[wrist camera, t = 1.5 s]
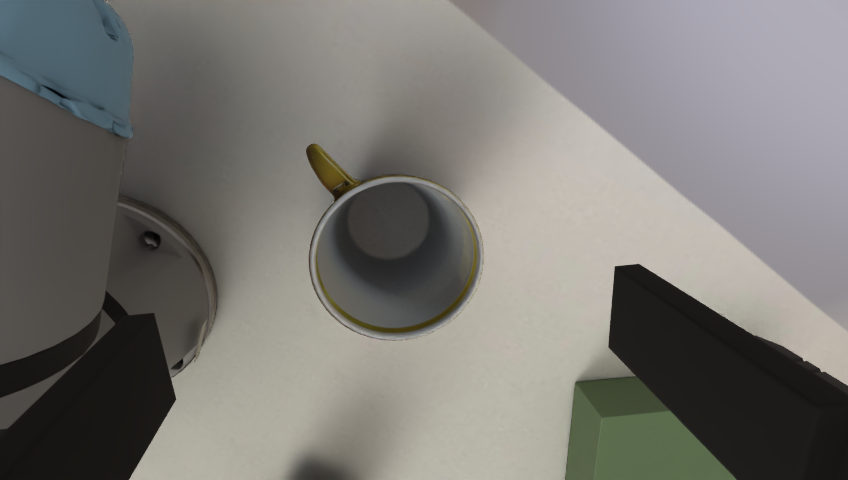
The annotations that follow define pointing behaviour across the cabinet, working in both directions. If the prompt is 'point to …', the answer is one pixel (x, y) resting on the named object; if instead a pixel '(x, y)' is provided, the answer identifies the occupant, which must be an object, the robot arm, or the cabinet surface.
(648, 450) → the green block
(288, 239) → the cabinet surface
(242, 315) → the cabinet surface
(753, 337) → the robot arm
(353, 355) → the cabinet surface
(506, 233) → the cabinet surface
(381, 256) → the ceramic cup
